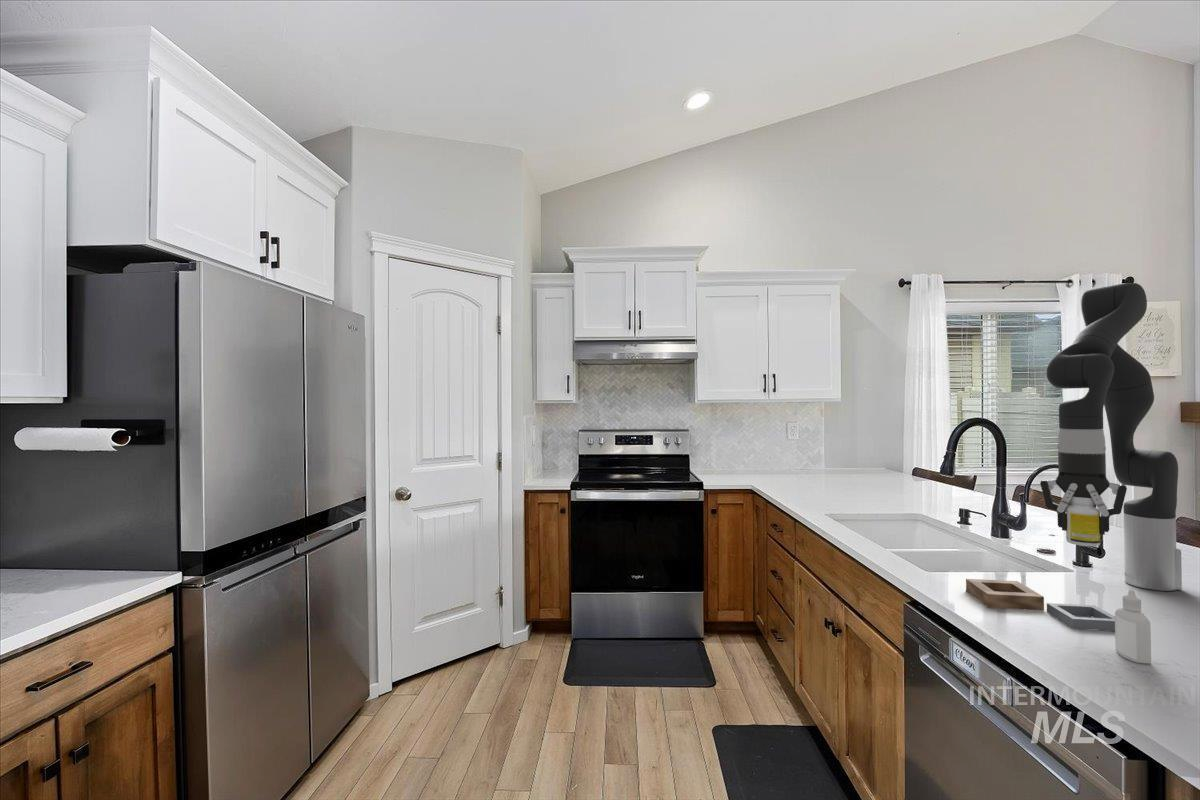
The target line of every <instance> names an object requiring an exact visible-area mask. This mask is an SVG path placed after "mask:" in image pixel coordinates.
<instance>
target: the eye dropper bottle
mask: <svg viewBox="0 0 1200 800" xmlns="http://www.w3.org/2000/svg"><path fill="white" fill-rule="evenodd" d="M1114 616H1115V631H1114V645H1115V646H1114V647H1115V651H1116V653H1117V654H1118V655H1119V656H1121V657H1122V658H1124V659H1125V660H1128V661H1131V662H1133V663H1136V664H1144V665H1145V664H1147V665H1149V664H1151V663H1152V636H1151V635H1152V631H1151V621H1150V619H1149V618H1148V617H1147V615H1145V613H1144V612H1142V599H1141V598H1140V597H1137V595H1136V592H1135V590H1133V589H1129V590H1128V593H1127V595H1123V596H1122V608H1121V607H1120V608H1118V609H1117V608H1116V609H1115V611H1114Z"/></svg>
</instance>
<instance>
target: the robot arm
mask: <svg viewBox="0 0 1200 800" xmlns="http://www.w3.org/2000/svg"><path fill="white" fill-rule="evenodd" d="M1146 294H1147V293H1146V291H1145V289H1144V287H1143V286H1142V285H1140V284H1139V283H1137V282H1125V283H1120V284H1119V283H1118V284H1113V285H1107V286H1101V287H1096V288H1092V289H1091V288H1090V289H1088V290H1085V291H1083V293H1082V294H1081V297H1080V310H1081V315H1082V319H1083V323H1084V326H1085V327H1084V328H1083V329H1081V331H1079V333H1078V334H1077V335H1076V336H1075V338H1074V340H1073V342H1072V343H1071V344H1070V345H1069V346H1067V347H1065V348H1064V349H1062V350H1061V351H1060V352H1058V353H1056V355H1055V354H1054V356H1053V357H1052V358H1051V359H1050V361H1049V363H1048V365H1047V367H1046V374H1045V375H1046V379H1047V381H1048V382H1049V383H1050V384H1051V385H1052V386H1053V387H1055V388H1057V389H1064V390H1067V389H1069V390H1070V389H1088V391H1087V392H1086V394H1085V395H1084V396H1083V397H1081V398H1075V399H1070V400H1064V401H1062V402H1060V403H1059V406H1058V435H1057V458H1058V459H1057V463H1058V464H1057V465H1058V467H1057V468H1058V471H1057V473H1058V475H1057V477H1056V478H1054V479H1045V478H1044V479H1042V480H1041V481H1040V484H1039V485H1040V488H1041V491H1042V496H1043V499H1044V504H1045V507H1046V508H1047V509H1050V510H1053V511H1055V512H1056V514H1057V526H1058V528H1061V531H1064V532H1066V508H1067V507H1068V506H1069V503H1070V500H1071V498H1072V497H1082V498H1092V499H1093V501H1094V502H1095V506H1096V508H1097V509H1098V510H1099V511H1100V535H1101V536H1102V535H1104V536H1105V535H1106V533H1109V532H1110V518H1111V516H1114V515H1121V513H1122V511H1123V548H1124V549H1123V551H1124V552H1123V553H1124V554H1123V555H1124V556H1123V561H1124V567H1123V568H1124V582H1125V583H1126V584H1129V585H1131V586H1134V587H1138V588H1141V589H1148V590H1153V591H1164V592H1171V591H1173V592H1174V591H1177V590H1179V591H1180V590H1181V591H1182V590H1183V577H1182V576H1183V573H1182V572H1183V571H1182V569H1183V568H1182V565H1183V564H1182V550H1181V549H1179V548H1177V518H1176V514H1177V513H1176V512H1177V504H1178V484H1179V483H1178V482H1179V464H1178V460H1177V458H1176V456H1175V454H1174V453H1172V452H1171V451H1168V450H1166V451H1165V450H1155V449H1153V450H1151V449H1136V447H1135V445H1134V436H1135V433H1136V430H1137V428H1138V426H1139V425H1140V423H1141V422H1142V421H1143V420H1144V418H1145V416H1146V415H1147V414H1148V413H1149V411H1150V410H1151V409H1152V406H1153V404H1154V401H1155V394H1154V393H1155V392H1154V389H1153V384H1152V378H1151V374H1150V372H1149V371H1148V369H1147V368H1146V367H1145V366H1144V365H1143V364H1142V363H1141V362H1140V361H1139V360H1137V359H1136V358H1135V357H1133V355H1131V354H1130V353H1128V352H1127V351H1126V350H1125V349H1123V347H1121V346H1120V345H1119V342H1120V341H1121V340H1122V339H1123V337H1124V336H1125V335H1127V334H1128V333H1129V332H1130V331H1131V330H1132V329H1133V328H1134V327H1135V326H1136V325H1137V324H1138V323H1139V322H1140V321H1142V319H1143V318H1144V316H1145V314H1146V312H1147V307H1148V300H1147V295H1146ZM1104 410H1105V414H1106V419H1107V425H1108V430H1109V436H1110V445H1111V448H1110V449H1111V454H1112V455H1111V457H1112V467H1113V471H1114V475H1115V477H1116V479H1117V481H1118V482H1119V483H1114V482H1110V481H1109V480H1108V479H1107V463H1106V462H1107V460H1106V455H1107V454H1106V450H1107V447H1106V439H1105V438H1106V436H1105V433H1104ZM1055 485H1057V486H1058V487H1059V488H1060V489H1061V490H1062V491H1063V493H1064V494H1063V496H1062V498H1061V499H1060V501H1059V504H1058V503H1055V502H1054V500H1053V496H1052V492H1051V491H1052V490H1054V487H1055ZM1127 486H1128V487H1129V486H1130V487H1140V488H1149V489H1152V490H1151V494H1150V495H1149V496H1146V497H1143V498H1139V499H1131V500H1127V501H1125V499H1126V494H1127V490H1128V488H1127ZM1108 488H1110V489H1111V493H1112V494H1113V495H1115V499H1114V503H1113V506H1112V507H1108V508H1107V505H1106V503H1105V501H1104V500H1103V498H1102V497H1101V495H1102V494H1103V493H1104V492H1105V491H1106V490H1107V489H1108Z"/></svg>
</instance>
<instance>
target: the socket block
mask: <svg viewBox="0 0 1200 800" xmlns="http://www.w3.org/2000/svg"><path fill="white" fill-rule="evenodd" d="M965 592H966V593H968V594H969V595H971V596H972V597H973V598H975V599H976V600H977V601H979V602H980V603H981V604H983V605H984V606H985V607H987V608H989V609H1005V608H1006V609H1007V610H1009V609H1010V610H1024V609H1026V610H1027V611H1028V610H1029V611H1043V612H1044V611H1045V596H1043V595H1042V594H1040V593H1038V592H1037V591H1035V590H1034V589H1031V588H1030V587H1028V586H1026V585H1025V584H1023V583H1021V582H1019V580H1005V579H1004V580H1001V579H981V578H980V579H979V578H978V579H977V578H976V579H975V578H965Z"/></svg>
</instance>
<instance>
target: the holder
mask: <svg viewBox="0 0 1200 800" xmlns="http://www.w3.org/2000/svg"><path fill="white" fill-rule="evenodd" d="M1046 613H1048V614H1049V615H1051V617H1053V618H1055V619H1057V620H1058V621H1060V622H1061V623H1063V624H1065V625H1066V626H1067V627H1069V626H1070V627H1069V628H1071V629H1073V630H1087V629H1098V630H1097V631H1104V630H1108V631H1107V632H1115V615H1113V614H1111V613H1110V612H1107V611H1105V610H1103V609H1102V608H1101V607H1098V606H1097V605H1095V604H1076V603H1075V604H1073V603H1053V602H1051V603H1050V602H1046ZM1091 616H1093V617H1091Z"/></svg>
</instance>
